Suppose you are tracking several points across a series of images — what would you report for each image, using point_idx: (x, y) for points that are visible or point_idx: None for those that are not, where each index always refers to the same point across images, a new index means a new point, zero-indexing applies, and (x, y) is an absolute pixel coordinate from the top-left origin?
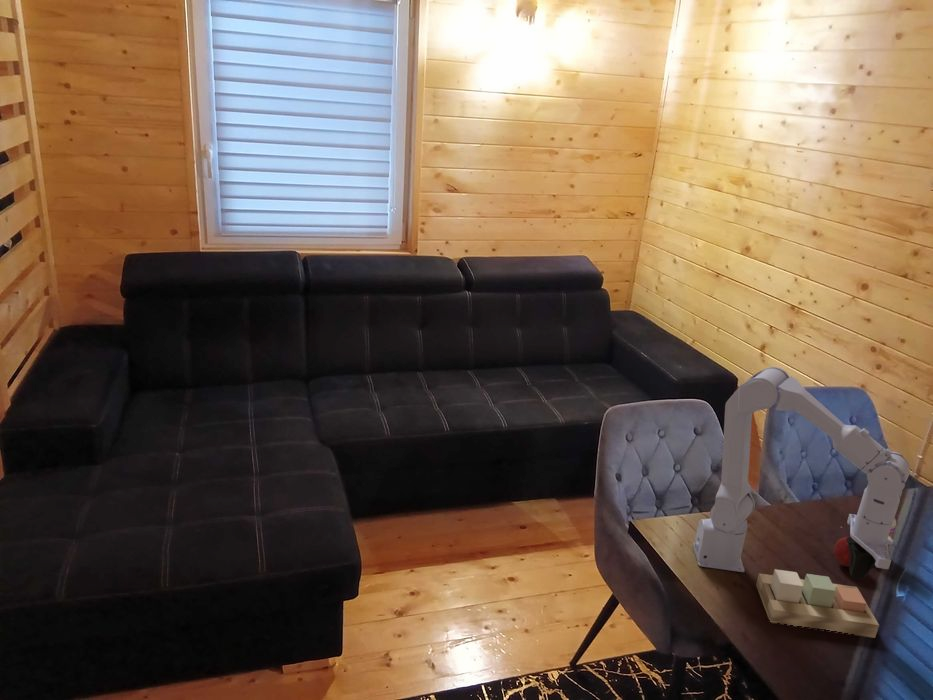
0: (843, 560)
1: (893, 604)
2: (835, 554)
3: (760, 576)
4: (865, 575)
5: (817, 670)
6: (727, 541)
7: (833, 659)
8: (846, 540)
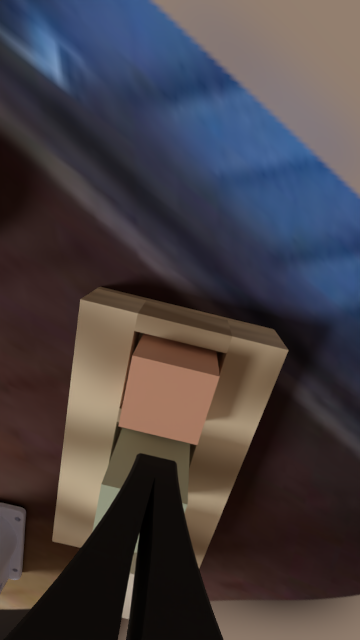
0: None
1: (117, 140)
2: None
3: (65, 543)
4: (177, 484)
5: (347, 519)
6: None
7: (325, 473)
8: None
